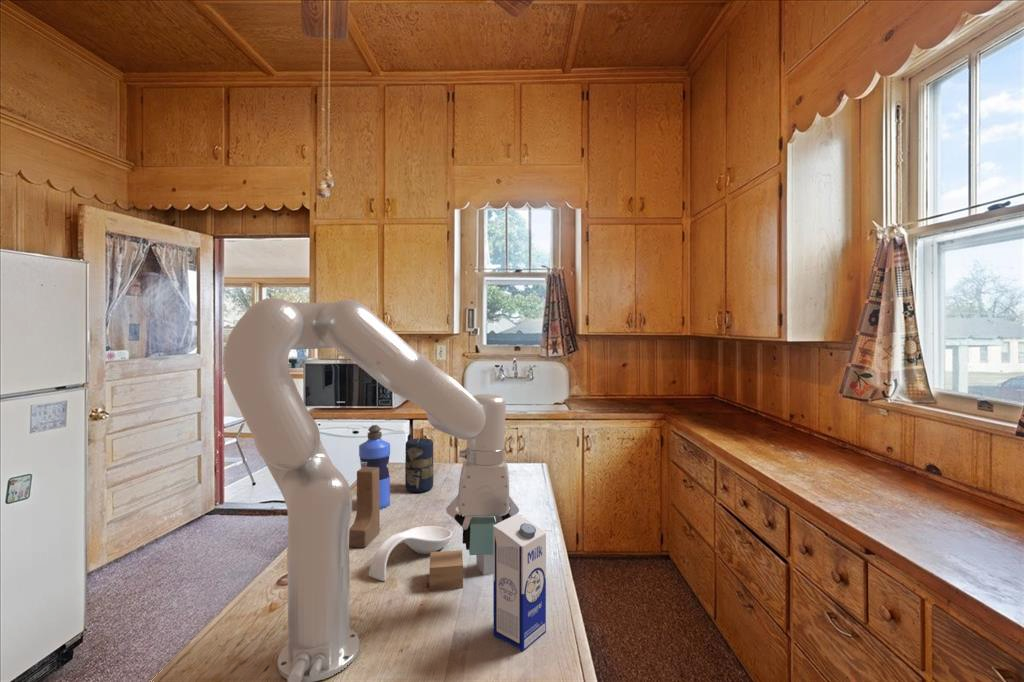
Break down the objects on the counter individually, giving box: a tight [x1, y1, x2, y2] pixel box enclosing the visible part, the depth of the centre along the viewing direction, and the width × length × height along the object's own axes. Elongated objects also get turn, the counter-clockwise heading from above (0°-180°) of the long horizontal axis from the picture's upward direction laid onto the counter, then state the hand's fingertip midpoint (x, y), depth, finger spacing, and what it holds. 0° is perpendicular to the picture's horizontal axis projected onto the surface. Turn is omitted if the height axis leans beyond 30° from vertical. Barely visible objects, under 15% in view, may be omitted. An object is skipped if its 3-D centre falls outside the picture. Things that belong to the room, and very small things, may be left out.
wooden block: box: [349, 467, 381, 549], centre depth 121 cm, size 9×4×18 cm, turn 172°
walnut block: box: [428, 549, 464, 592], centre depth 102 cm, size 7×7×5 cm
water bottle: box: [358, 424, 391, 510], centre depth 146 cm, size 9×9×25 cm
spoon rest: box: [368, 525, 453, 582], centre depth 112 cm, size 24×12×7 cm, turn 152°
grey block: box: [475, 555, 493, 576], centre depth 107 cm, size 5×5×6 cm
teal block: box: [468, 516, 496, 556], centre depth 94 cm, size 5×5×6 cm
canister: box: [404, 436, 434, 493], centre depth 161 cm, size 10×10×18 cm
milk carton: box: [492, 513, 547, 652], centre depth 84 cm, size 7×7×20 cm
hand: (481, 545), depth 94 cm, fingers closed on teal block, 5 cm apart
